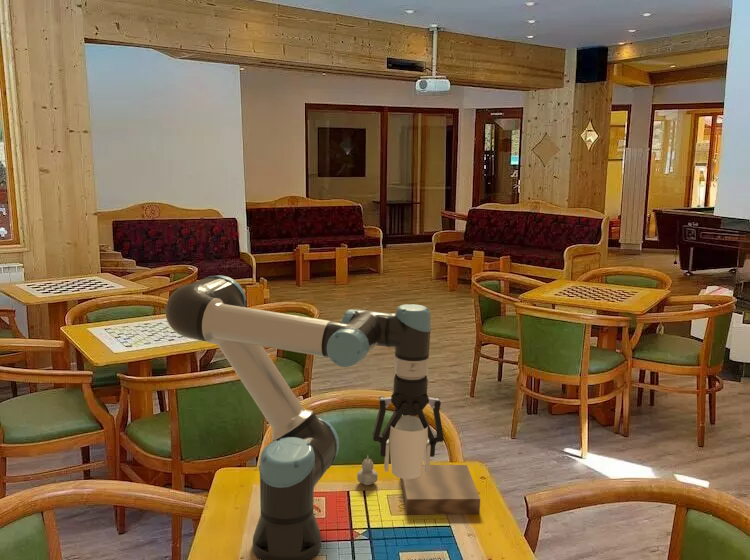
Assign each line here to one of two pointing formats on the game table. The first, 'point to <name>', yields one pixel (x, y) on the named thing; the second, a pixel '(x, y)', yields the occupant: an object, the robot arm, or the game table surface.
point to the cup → (407, 447)
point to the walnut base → (441, 491)
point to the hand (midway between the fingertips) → (406, 468)
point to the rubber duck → (367, 473)
